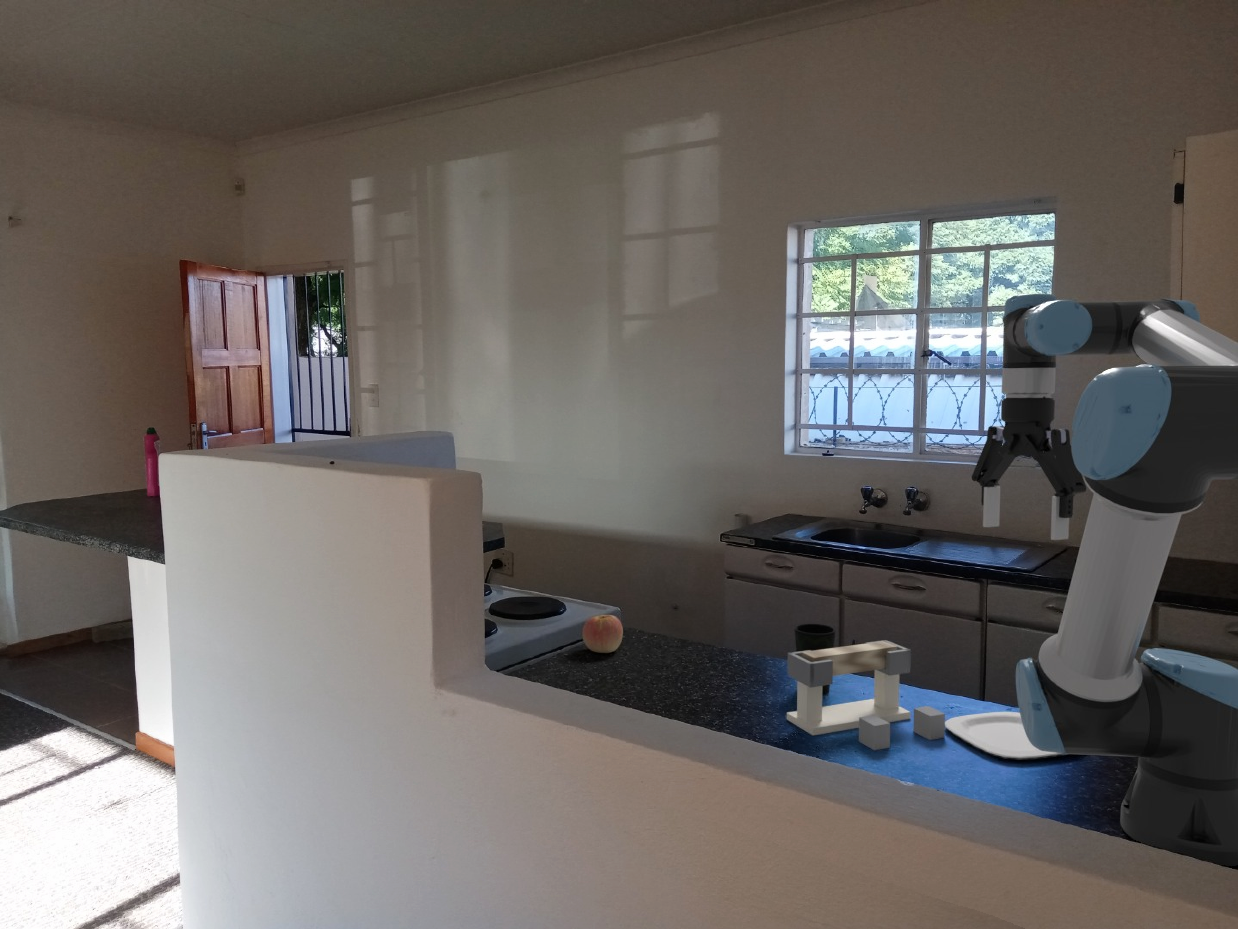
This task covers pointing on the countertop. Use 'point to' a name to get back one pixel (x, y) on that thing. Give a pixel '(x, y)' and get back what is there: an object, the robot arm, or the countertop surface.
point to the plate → (997, 735)
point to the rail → (853, 657)
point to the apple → (603, 633)
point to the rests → (925, 724)
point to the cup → (814, 640)
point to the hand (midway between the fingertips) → (1023, 532)
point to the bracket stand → (847, 714)
